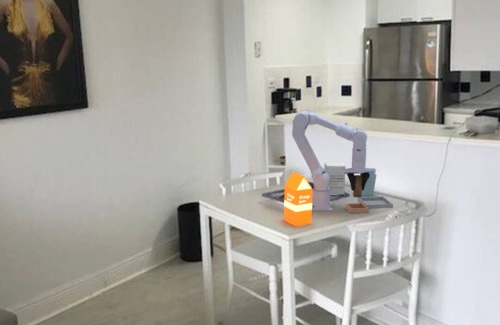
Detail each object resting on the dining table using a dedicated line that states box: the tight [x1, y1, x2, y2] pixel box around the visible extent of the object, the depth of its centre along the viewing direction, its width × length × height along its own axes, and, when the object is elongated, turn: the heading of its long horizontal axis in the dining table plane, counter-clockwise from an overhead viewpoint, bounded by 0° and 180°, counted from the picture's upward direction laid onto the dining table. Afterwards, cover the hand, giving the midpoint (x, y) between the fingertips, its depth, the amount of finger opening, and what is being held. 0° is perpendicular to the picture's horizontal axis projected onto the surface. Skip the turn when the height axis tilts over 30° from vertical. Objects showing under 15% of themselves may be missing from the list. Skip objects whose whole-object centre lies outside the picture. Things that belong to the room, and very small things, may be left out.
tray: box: [357, 196, 394, 209], centre depth 234 cm, size 12×12×2 cm
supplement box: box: [323, 161, 346, 195], centre depth 251 cm, size 9×9×15 cm
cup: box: [359, 173, 377, 197], centre depth 248 cm, size 8×8×10 cm
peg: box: [352, 174, 363, 199], centre depth 222 cm, size 4×4×9 cm
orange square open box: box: [344, 202, 370, 214], centre depth 225 cm, size 8×8×3 cm
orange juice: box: [283, 171, 313, 227], centre depth 210 cm, size 8×9×20 cm
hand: (357, 190), depth 223 cm, fingers closed on peg, 4 cm apart
